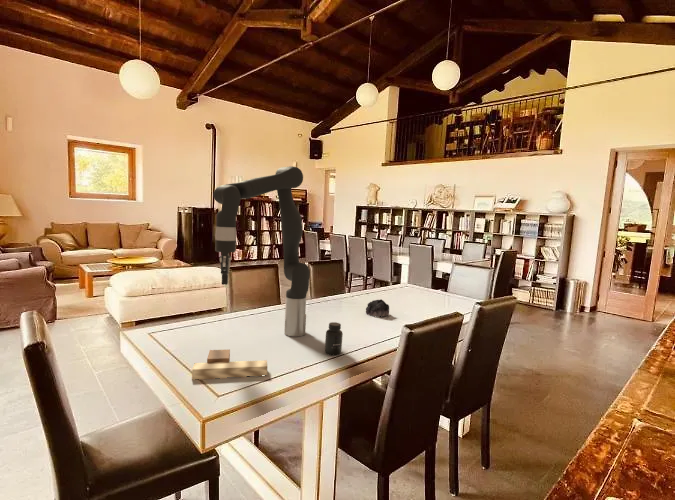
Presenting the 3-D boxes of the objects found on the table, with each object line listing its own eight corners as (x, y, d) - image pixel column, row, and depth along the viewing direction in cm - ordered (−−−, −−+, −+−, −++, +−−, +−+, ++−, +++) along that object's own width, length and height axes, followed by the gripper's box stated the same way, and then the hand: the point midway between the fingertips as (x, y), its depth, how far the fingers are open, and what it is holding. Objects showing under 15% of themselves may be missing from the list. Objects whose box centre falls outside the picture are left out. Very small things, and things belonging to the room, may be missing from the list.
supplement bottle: (335, 357, 143) (337, 327, 142) (321, 353, 147) (322, 324, 146) (344, 352, 149) (346, 323, 148) (330, 348, 153) (332, 320, 152)
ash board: (266, 369, 129) (266, 360, 129) (267, 376, 124) (267, 366, 124) (194, 373, 123) (194, 363, 123) (191, 379, 119) (192, 369, 118)
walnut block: (229, 362, 134) (229, 349, 133) (228, 372, 126) (228, 358, 126) (209, 363, 132) (209, 350, 132) (206, 373, 124) (207, 359, 124)
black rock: (367, 311, 217) (367, 295, 215) (390, 312, 214) (390, 295, 212) (364, 319, 204) (363, 301, 203) (388, 319, 201) (388, 302, 200)
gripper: (235, 240, 132) (234, 288, 134) (236, 237, 145) (235, 280, 147) (213, 240, 130) (212, 287, 132) (217, 237, 143) (216, 280, 145)
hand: (224, 284), depth 139 cm, fingers closed
